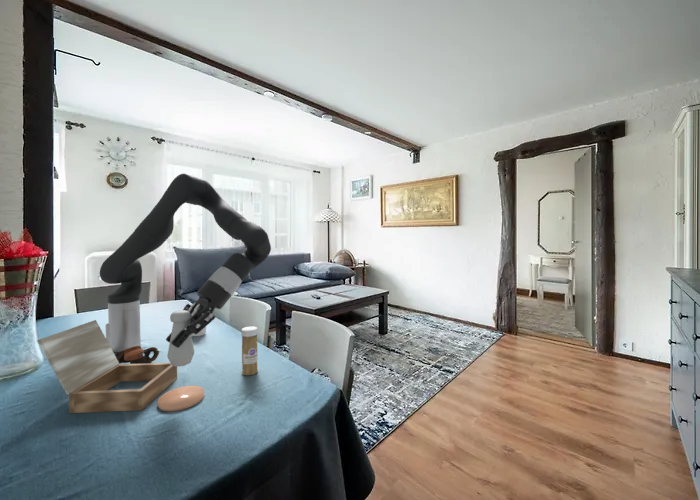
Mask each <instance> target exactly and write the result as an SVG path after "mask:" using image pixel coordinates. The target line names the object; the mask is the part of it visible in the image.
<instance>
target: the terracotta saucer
mask: <svg viewBox="0 0 700 500" xmlns="http://www.w3.org/2000/svg"><path fill="white" fill-rule="evenodd" d="M204 397H205V389H204V388H203V387H201V386H199V385H198V386H197V385H185V386H180V387H177V388H176V387H175V388H174V389H170V390H168V391H167V392H165V393H163V394H162V395H161V396H160V397H159V398H158V400H157V407H158V409H159V410H161V411H163V412H178V411H182V410H186V409H188V408H191V407H193V406H196V405H198V404H199V403H200V402H201V401H202V400H203V399H204Z"/></svg>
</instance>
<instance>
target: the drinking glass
mask: <svg viewBox="0 0 700 500" xmlns="http://www.w3.org/2000/svg"><path fill="white" fill-rule="evenodd" d="M205 333H206V334H207V326H206V327H205V328H203V329H202V330H201V331H200V332H199V333H198V334H195V333H193V334H192V335H191V337H193V336H197V337H201V336H200V335H202V336H204V335H203V334H205ZM206 334H205V335H206Z"/></svg>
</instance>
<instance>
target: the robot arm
mask: <svg viewBox="0 0 700 500" xmlns="http://www.w3.org/2000/svg"><path fill="white" fill-rule="evenodd" d="M184 204H188V205H194V206H200V207H202V208H203V209H205V210H207V211H208V212H210V213H211V214H212V216H213V218H214V221H215V223H216V224H217V226H219V228H220V229H221V230H223V231H224V232H225V233H226V234H227V235H229V237H231V238H232V239H234V240H236V241H241V242H242V243H243V245H244V246H245V250H244V251H243V252H242V253H239V252H234V253H233V254H231V255H230V256H229V257H228V258H227V260H225V262H224V263H223V264H222V265H221V266H220V267H218V269H217V270H216V271H214V272H213V274H212V275H211V276H209V278H208V279H207V280H206V281H205V282H204V283H203V285H202V286H201V287H200V288H199V289H198V290H197V292H196V295H197V296H198V299H197V300H195V301H194V303H192V304H189V303H187V304H185V306H184V307H183V309H182V310H186V311H189V312H190V317H189V319H188V321H187V322H188V323H187V324H186V325H185V327H184V328H183V330H184V331H183V330H182V331H181V332H180V333H179V334H178V335H177V336H176V337H175V338H174V339H173V341H172V342H171V344H172V345H174V346H176V347H177V348H179V347H180V345H182V343H183V342H184V341H185V340H186V339H187V338H188V337H189V335H192V334H193V333H195V334H198V333H199V332H200V331H201V330H202V329H203V328H205V327H206V328H207V326H208V325H210V323H212V322H213V321H214V320H215V319H216V315H214V314H213V312H214V311H215V309H217V310H221V309H222V308H223V307H224V306H225V305H226V304H227V302H228V301H229V300H230V299H231V297H232V296H233V295H234V293H235V292H236V291H237V290H238V288H239V287H240V285H241V283H242V282H243V281H244V280H245V279H246V278H247V276H249V274H250V273H251V271H253V270H254V269H256V268H257V267H258V266H259V265H261V264H262V263H263V262H264V261H265V260H267V258H268V257H269V255H270V253H271V250H272V245H271V242H270V238H269V236H268V234H267V232H266V230H265V229H264V228H262V227H261V226H260V225H258V224H257V223H254V222H252V221H249V220H247V218H246V217H244V216H243V215H242V214H240V213H239V212H238V211H237V210H235V209H234V208H232V207H231V206H230V205H229V204H228V203H227V202H226V200H225V199H224V198H223V197H222V196H221V195H220V194H219V193H218V191H217V190H216V189H215V188H214V187H213V186H212V185H211V184H210V183H209V182H208V180H206V179H205V178H204V179H203V178H201V177H199V176H195V175H194V174H193V175H192V174H190V173H186V172H185V173H181V174H179V175H177V176H175V178H174V179H173V180H171V182H170V184H169V186H168V187H167V189H166V190H165V191H164V193H163V194H162V197H160V199H159V200H158V202H157V203H156V204H155V205H154V207H153V208H152V209H151V211H150V212H149V213H148V214H147V215H146V217H145V218H144V219H143V220H142V221H141V222H140V223H139V224H138V225H137V226H136V228H135V229H134V231H133V232H132V233H131V235H129V236H128V237H127V239H126V240H125V241H123V243H122V244H121V245H120V246H119V247H118V248H117V249H116V250H115V251H113V253H112V254H110V255H109V256H108V257H107V258H106V259H105V260H104V261H103V263H102V264H101V266H100V268H99V278H100V279H101V281H103V282H104V283H106V284H111V285H117V284H120V286H119V287H118V288H117V289H116V290H114V291H113V292H111V293H109V294H108V295H107V311H108V313H107V316H108V317H107V318H108V323H106V324H105V338H106V340H107V342H108V343H109V345H110V347H111V349H112V351H113V353H118V352H120V351H123V350H125V349H128V348H131V347H134V346H142V344H141V343H142V342H141V341H142V339H141V338H142V337H141V334H142V333H141V306H140V305H141V304H140V301H141V300H140V296H141V293H142V288H143V287H142V286H143V285H142V284H143V268H142V263H141V262H140V260H139V259H142V257H144V256H146V255H148V254H151V253H152V252H154V251H156V250H157V249H159V248H160V247H161V246H162V245H164V243H165V242H166V241H167V240H168V238H170V236H172V234H173V231H174V225H175V224H174V222H175V221H174V219H175V218H174V216H175V214H176V212H178V210H179V209H180V207H181V206H182V205H184ZM171 333H172V331H171V332H170V333H169V334H168V336H167V337H165V338H166V339H165V341H166V342H168V343H169V344H170V338H171Z"/></svg>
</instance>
